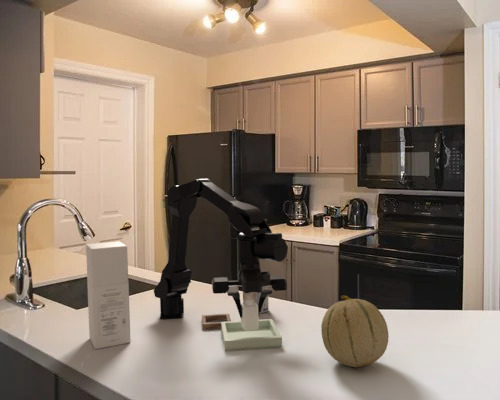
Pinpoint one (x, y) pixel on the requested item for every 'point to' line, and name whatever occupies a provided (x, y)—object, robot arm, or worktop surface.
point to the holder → (213, 318)
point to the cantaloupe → (354, 332)
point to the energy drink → (265, 304)
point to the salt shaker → (249, 312)
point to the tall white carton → (108, 294)
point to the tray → (250, 336)
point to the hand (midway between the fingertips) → (249, 316)
